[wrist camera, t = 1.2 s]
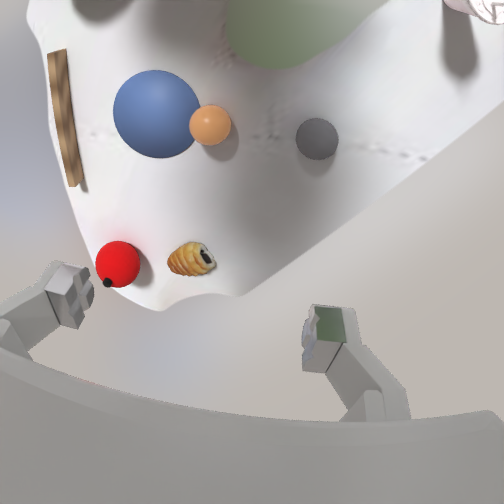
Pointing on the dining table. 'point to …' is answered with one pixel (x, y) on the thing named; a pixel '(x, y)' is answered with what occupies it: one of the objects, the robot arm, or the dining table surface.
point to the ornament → (117, 264)
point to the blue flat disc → (155, 113)
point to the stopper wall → (64, 116)
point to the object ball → (210, 125)
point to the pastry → (191, 260)
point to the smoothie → (480, 9)
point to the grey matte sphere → (317, 139)
